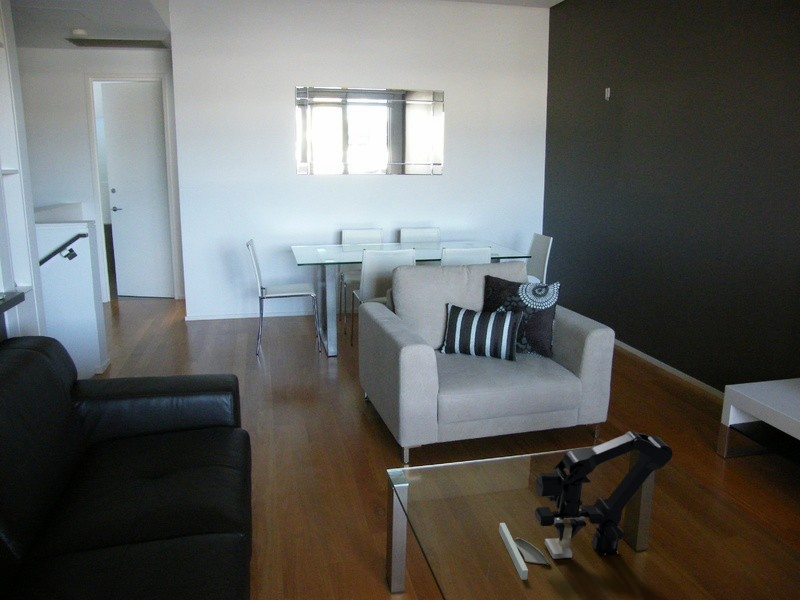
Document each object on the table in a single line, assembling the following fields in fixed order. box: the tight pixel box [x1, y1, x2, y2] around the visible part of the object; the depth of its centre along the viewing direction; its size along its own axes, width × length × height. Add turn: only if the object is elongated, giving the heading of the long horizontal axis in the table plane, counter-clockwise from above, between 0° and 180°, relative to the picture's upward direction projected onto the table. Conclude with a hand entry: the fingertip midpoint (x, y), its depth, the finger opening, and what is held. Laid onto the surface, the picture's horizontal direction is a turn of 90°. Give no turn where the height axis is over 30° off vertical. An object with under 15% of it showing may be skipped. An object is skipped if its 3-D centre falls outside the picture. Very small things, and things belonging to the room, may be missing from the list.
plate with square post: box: [544, 522, 573, 560], centre depth 195 cm, size 6×7×9 cm
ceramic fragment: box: [513, 537, 552, 566], centre depth 193 cm, size 14×5×4 cm, turn 39°
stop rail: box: [498, 522, 529, 581], centre depth 194 cm, size 2×22×3 cm, turn 9°
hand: (564, 539), depth 196 cm, fingers closed on plate with square post, 2 cm apart
